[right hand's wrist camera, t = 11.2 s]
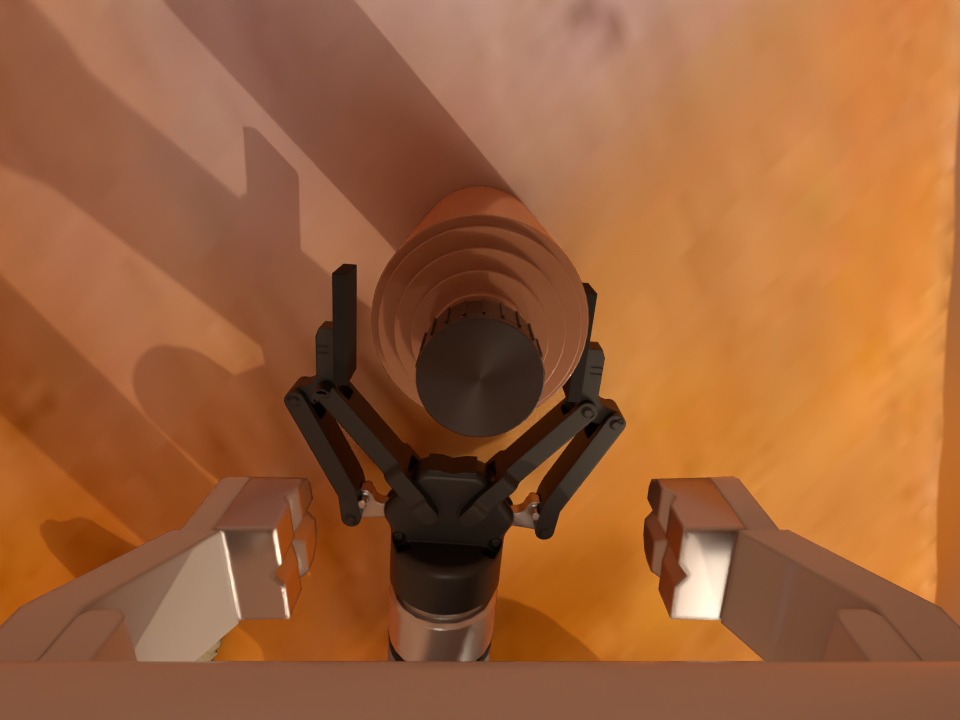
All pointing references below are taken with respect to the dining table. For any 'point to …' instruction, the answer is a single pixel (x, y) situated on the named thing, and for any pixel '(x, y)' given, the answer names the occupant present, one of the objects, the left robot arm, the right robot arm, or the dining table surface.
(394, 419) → the dining table surface
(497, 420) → the cap
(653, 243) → the dining table surface
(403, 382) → the bottle
